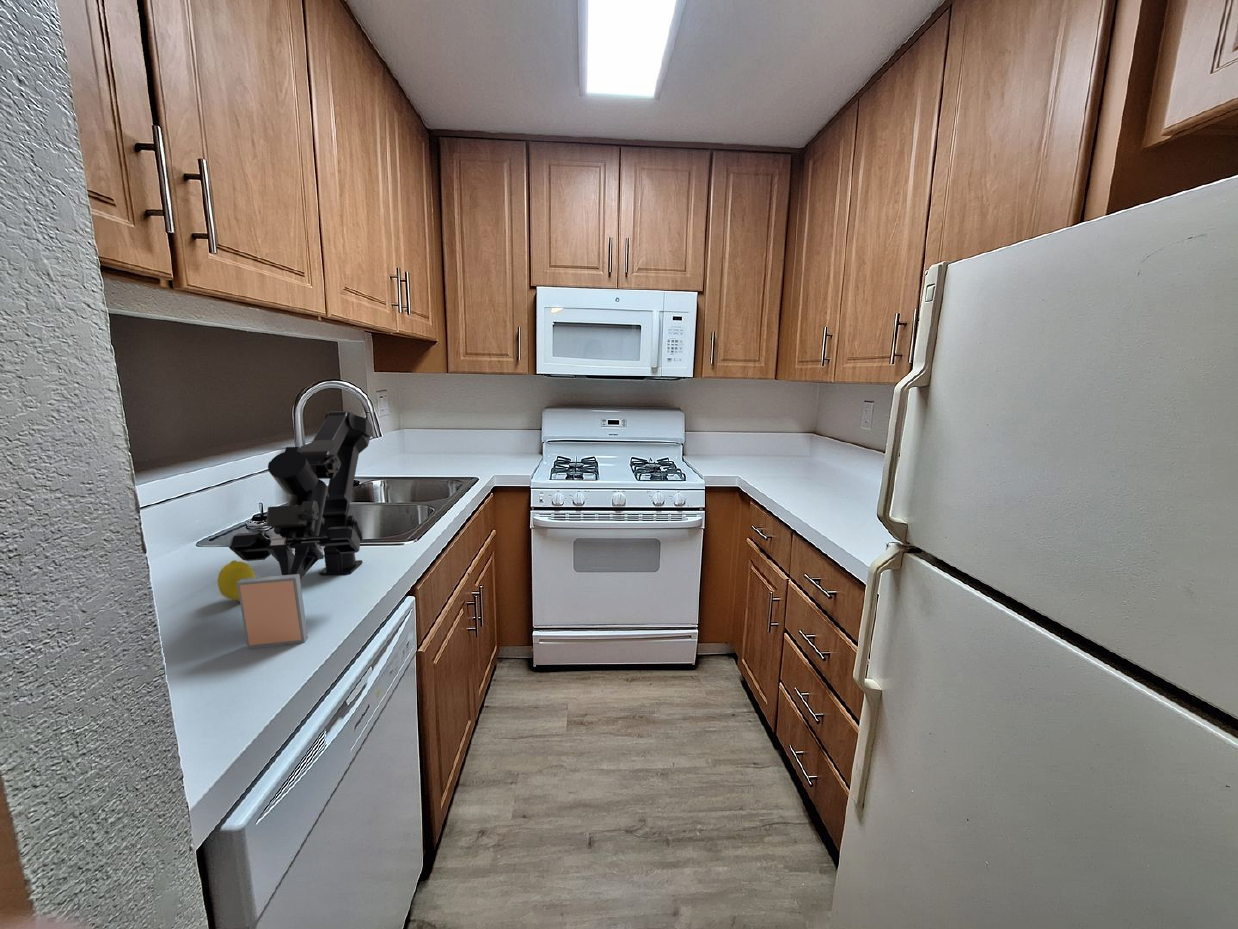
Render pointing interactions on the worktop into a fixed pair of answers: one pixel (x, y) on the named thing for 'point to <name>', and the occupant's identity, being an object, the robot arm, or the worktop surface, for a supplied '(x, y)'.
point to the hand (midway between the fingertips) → (288, 590)
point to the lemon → (233, 578)
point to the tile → (272, 610)
